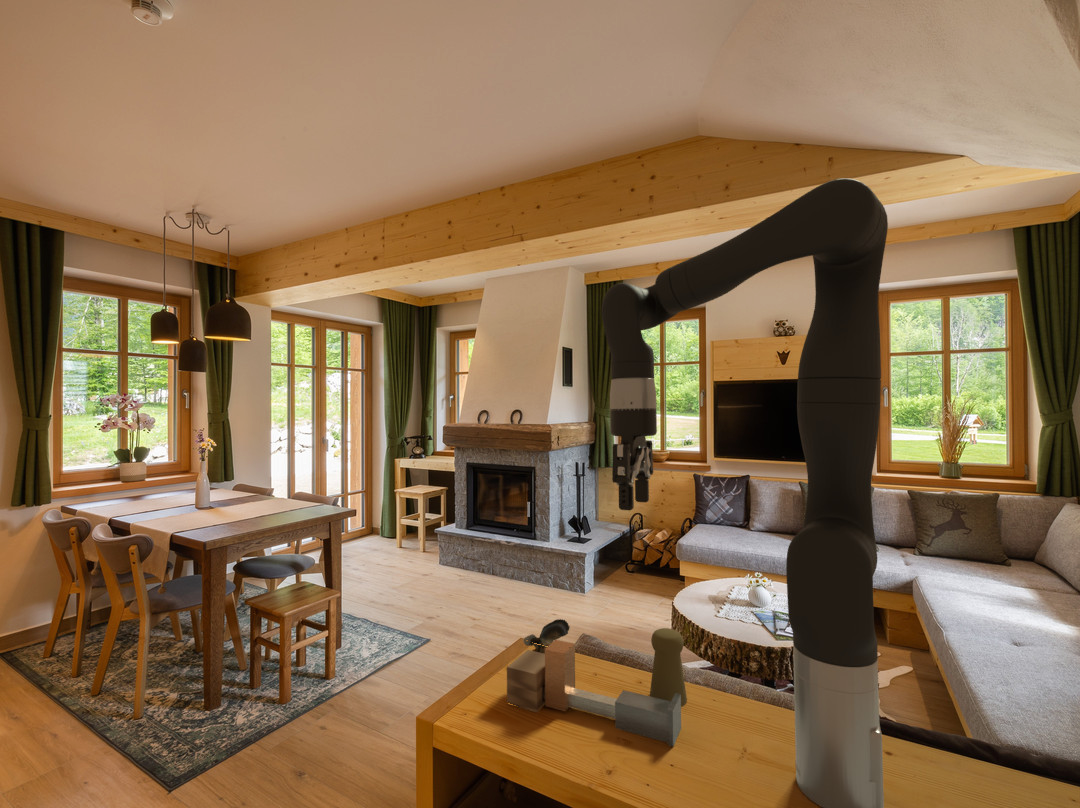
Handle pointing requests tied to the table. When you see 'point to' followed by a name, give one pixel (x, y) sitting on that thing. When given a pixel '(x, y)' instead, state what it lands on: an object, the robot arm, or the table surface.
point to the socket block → (526, 681)
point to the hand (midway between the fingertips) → (634, 505)
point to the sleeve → (649, 716)
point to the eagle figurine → (548, 635)
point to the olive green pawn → (667, 665)
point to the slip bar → (570, 683)
